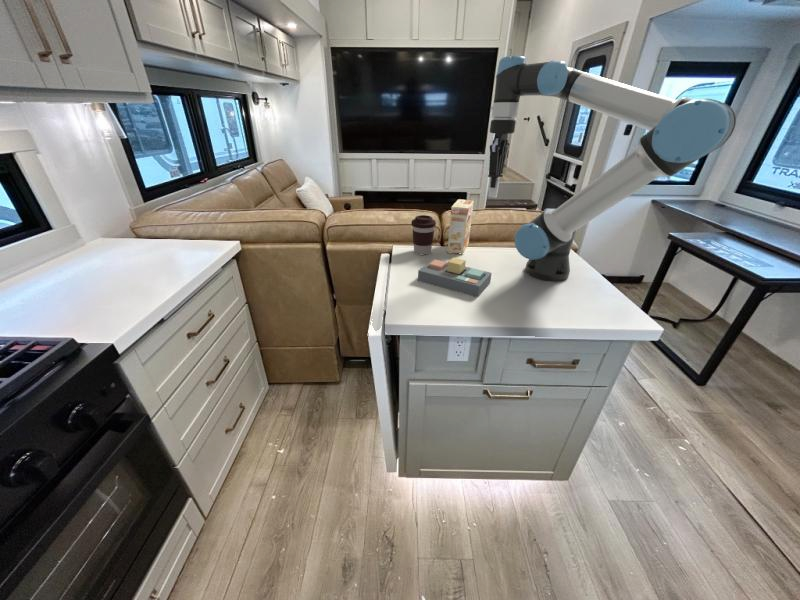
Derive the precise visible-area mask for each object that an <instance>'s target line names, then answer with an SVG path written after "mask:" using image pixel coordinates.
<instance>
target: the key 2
mask: <svg viewBox="0 0 800 600" xmlns="http://www.w3.org/2000/svg"><path fill="white" fill-rule="evenodd" d="M470 268H471V269H470V270H469V271H468V272H467V273H466V277H468V278H472V279H476V280H481V279H482V278H483V277H484V271H485V270H482V269H478V268H474V269H473V267H470ZM477 269H478V270H477ZM481 270H482V271H481Z"/></svg>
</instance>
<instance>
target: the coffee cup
mask: <svg viewBox="0 0 800 600" xmlns="http://www.w3.org/2000/svg"><path fill="white" fill-rule="evenodd" d="M410 223H411V226H412V243H413V252H414V253H415V254H416V253H417V254H416V255H419V254H427V255H429V254H430V253H432V247H433V242H434V235H435V234H434V233H435V227H436V225H437V221H436V220H435V219H434V218H433V217H432V216H431V215H426V214H423V215H417V216H415V218H414V219H412V220H411V222H410Z"/></svg>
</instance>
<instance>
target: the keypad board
mask: <svg viewBox="0 0 800 600" xmlns="http://www.w3.org/2000/svg"><path fill="white" fill-rule="evenodd" d="M434 260H436V259H435V258H434V259H432V260H431V261H429V262H428V263H427V264H425V265H424V266H423V267H421V268H420V269H418V271H417V273H418V274H417V275H418V276H417V281H418V282H420V283H424V284H429V285H431V286H436V287H439V288H441V289H442V288H443V289H446V290H450V291H454V292H457V293H460V294H464V295H468V296H471V297H475V298H479V297H480V295H481V294H483V292H484V291H485V290H486V289H487V287H488V286H489V285H490V284H491V281H492V274H493V273H492V272H491V271H486V270H482V269H480V270H481V271H484V277H483V278H482V279H481V280H476V279H472V278H468V277H466V273H467V272H468V271H469V270H470V269H471V268H473V267H469V266H465V270H464V271H463V272H461V273H460V274H457V273H453V272H448V271H447V268H448V262H447V261H446V262H447V265H446V268H445V269H443V270H442V271H440V270H436V269H432V268H429V264H430V263H431V262H433V261H434ZM438 260H439V259H438ZM439 261H441V260H439ZM442 261H443V262H445V261H444V260H442ZM473 269H475V268H473ZM476 269H477V270H479V269H478V268H476Z"/></svg>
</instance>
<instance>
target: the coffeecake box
mask: <svg viewBox="0 0 800 600" xmlns="http://www.w3.org/2000/svg"><path fill="white" fill-rule="evenodd" d="M474 203H475V201H474V200H471V199H461V198H459V199H457V200H456V201H455V202H454V203H453V205H452V206H451V207H450V209H451V210H450V218H449V219H450V220H449V228H448V229H449V232H448V242H447V243H448V244H447V252H451V253H450V254H454V253H461V254H463V253H464V254H465V252H464V251H466V250H465V249H467V248H468V245H469V242H470V235H471V225H472V219H473V218H472V217H473V209H474ZM461 254H460V255H461ZM464 254H463V255H464Z"/></svg>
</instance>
